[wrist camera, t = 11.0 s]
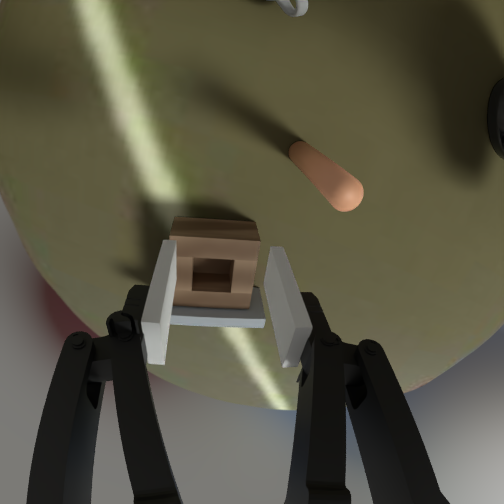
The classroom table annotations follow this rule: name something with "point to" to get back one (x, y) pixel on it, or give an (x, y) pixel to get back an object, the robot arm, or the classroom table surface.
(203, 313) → the base
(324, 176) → the dowel
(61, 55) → the classroom table surface
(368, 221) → the classroom table surface
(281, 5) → the cup
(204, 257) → the block
